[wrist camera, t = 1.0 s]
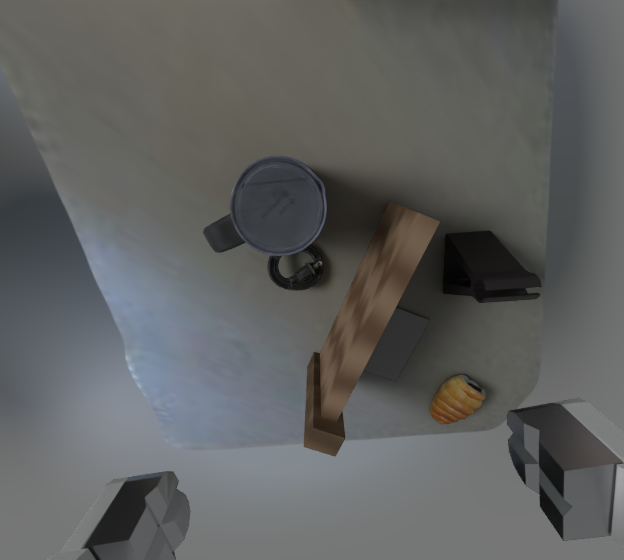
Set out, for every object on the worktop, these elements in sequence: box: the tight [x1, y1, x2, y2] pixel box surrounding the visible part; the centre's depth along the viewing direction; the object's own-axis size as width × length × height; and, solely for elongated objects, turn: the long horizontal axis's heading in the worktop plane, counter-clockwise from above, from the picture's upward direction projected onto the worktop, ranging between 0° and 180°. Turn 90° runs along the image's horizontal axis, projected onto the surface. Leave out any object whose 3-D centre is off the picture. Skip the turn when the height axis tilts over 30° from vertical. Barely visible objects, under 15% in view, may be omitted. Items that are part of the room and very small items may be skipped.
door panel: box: [304, 201, 440, 456], centre depth 41 cm, size 29×5×16 cm, turn 159°
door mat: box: [364, 307, 430, 381], centre depth 50 cm, size 12×11×1 cm
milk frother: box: [203, 156, 327, 291], centre depth 38 cm, size 14×16×15 cm
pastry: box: [430, 375, 486, 424], centre depth 52 cm, size 9×7×4 cm
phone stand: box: [443, 231, 541, 303], centre depth 41 cm, size 9×6×12 cm, turn 4°
